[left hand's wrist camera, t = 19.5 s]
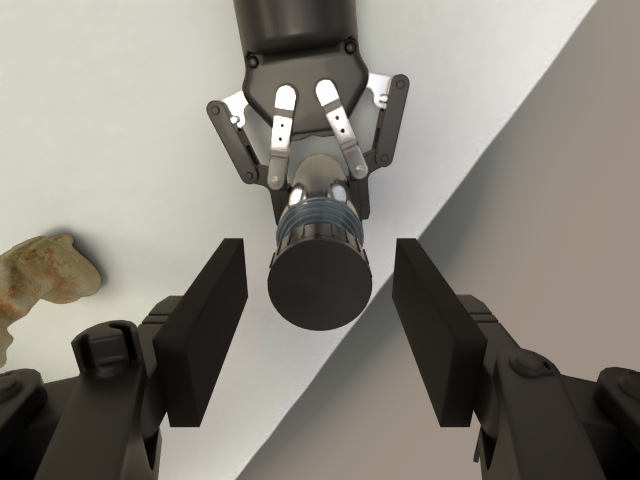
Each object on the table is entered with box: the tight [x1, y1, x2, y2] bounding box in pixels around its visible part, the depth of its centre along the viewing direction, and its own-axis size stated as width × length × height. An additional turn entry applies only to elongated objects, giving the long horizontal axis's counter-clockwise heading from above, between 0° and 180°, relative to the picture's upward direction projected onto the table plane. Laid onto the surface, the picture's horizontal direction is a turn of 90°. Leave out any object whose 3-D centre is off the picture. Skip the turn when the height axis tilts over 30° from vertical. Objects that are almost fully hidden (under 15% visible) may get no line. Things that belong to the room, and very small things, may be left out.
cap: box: [268, 222, 372, 331], centre depth 14 cm, size 4×4×2 cm
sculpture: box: [0, 234, 101, 368], centre depth 28 cm, size 6×7×15 cm
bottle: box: [276, 154, 364, 248], centre depth 23 cm, size 4×4×20 cm
